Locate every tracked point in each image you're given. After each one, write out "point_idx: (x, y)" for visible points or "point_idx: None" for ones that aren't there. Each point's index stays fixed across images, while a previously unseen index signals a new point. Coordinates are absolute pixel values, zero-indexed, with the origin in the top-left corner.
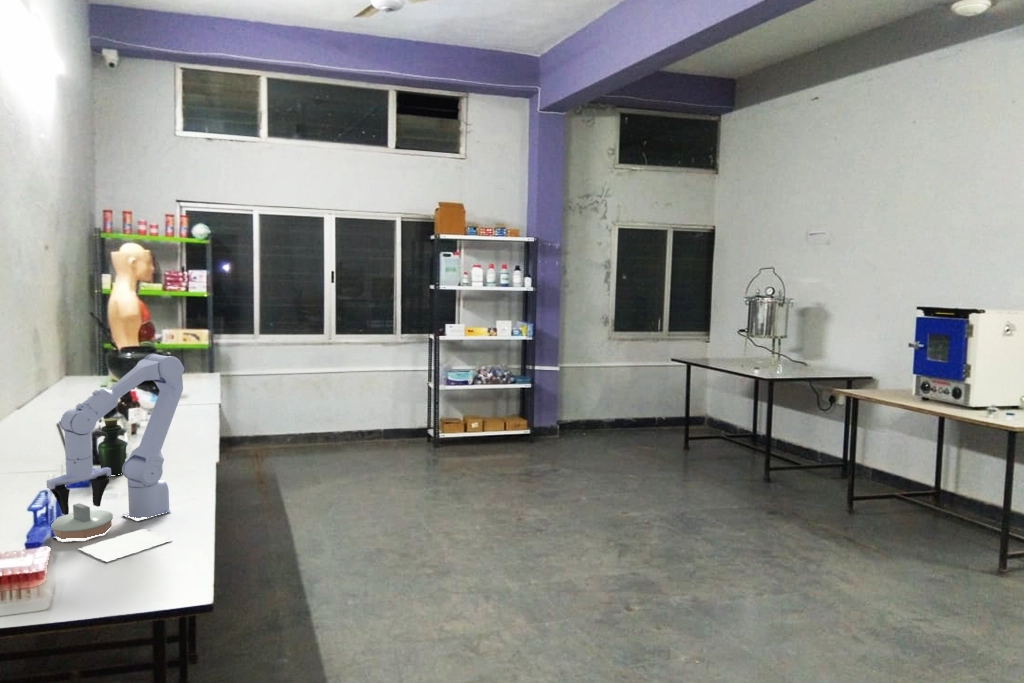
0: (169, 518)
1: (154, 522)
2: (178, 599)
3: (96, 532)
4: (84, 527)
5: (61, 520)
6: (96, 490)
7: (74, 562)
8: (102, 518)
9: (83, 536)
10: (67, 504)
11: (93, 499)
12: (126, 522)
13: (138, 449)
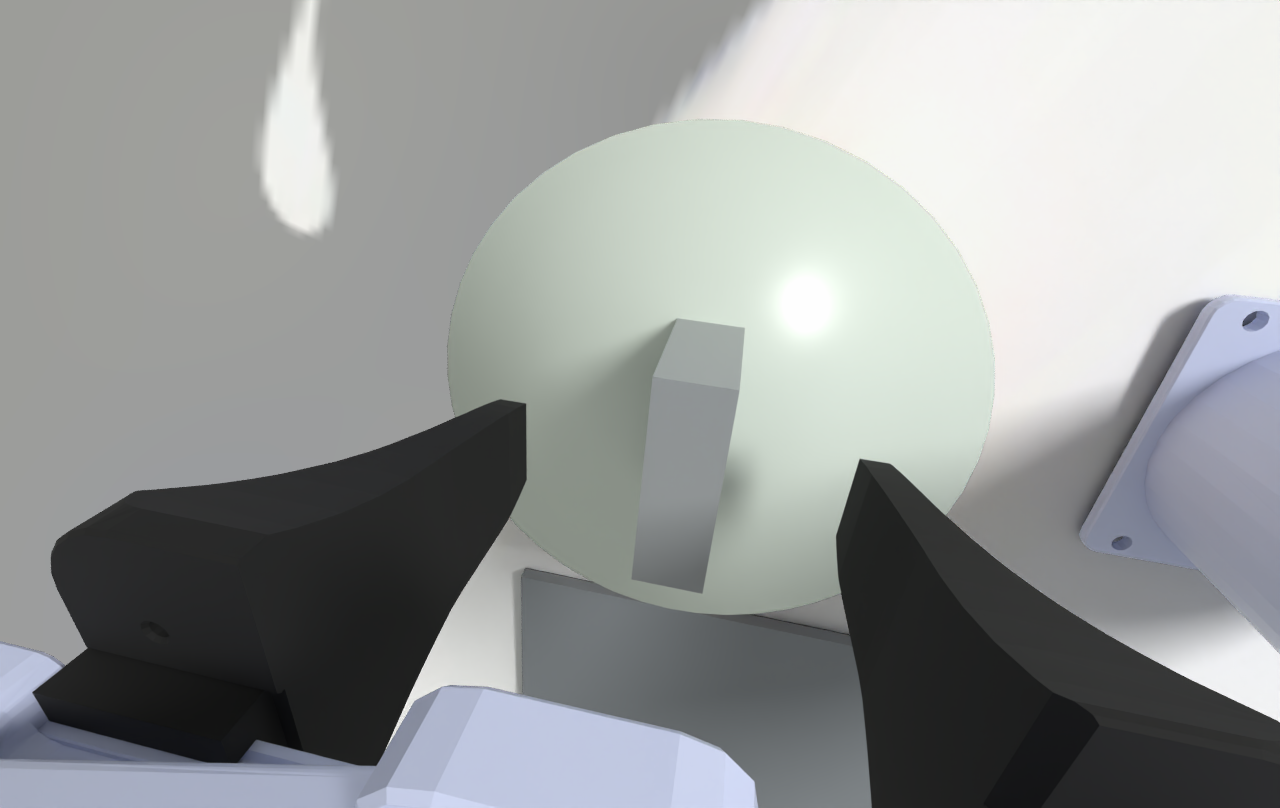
0: (1238, 660)
1: (1113, 626)
2: None
3: None
4: (594, 576)
5: (575, 272)
6: (889, 685)
7: (446, 659)
8: (799, 545)
9: None
10: (461, 573)
11: (874, 504)
12: (1049, 457)
13: None
